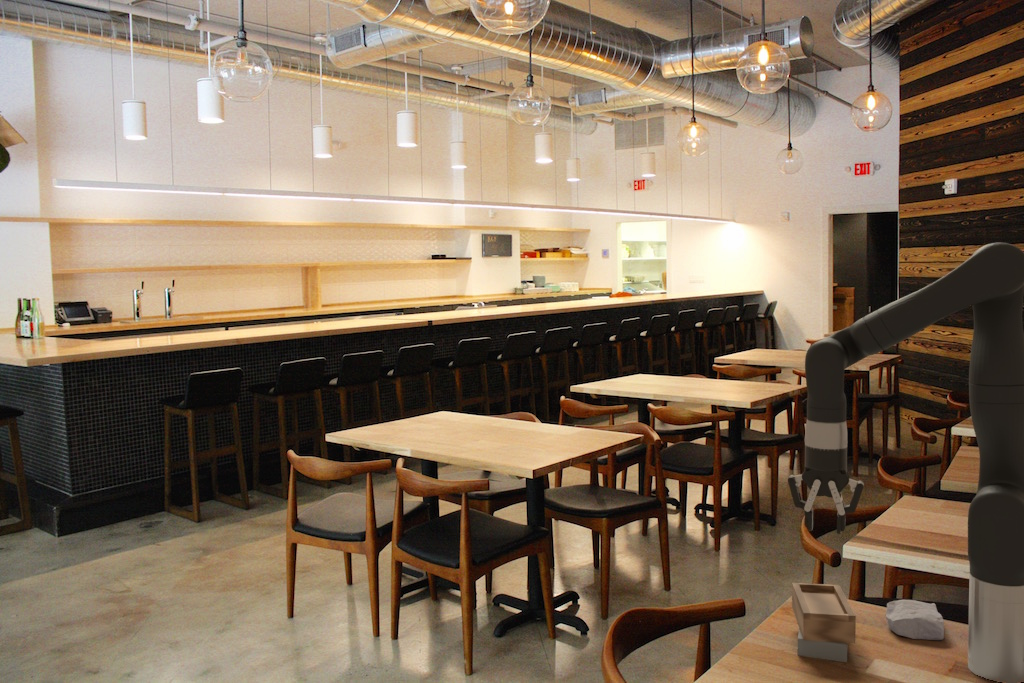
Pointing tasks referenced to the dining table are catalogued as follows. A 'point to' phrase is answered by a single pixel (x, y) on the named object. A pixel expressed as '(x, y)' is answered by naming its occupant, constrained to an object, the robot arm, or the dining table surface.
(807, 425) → the robot arm
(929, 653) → the dining table surface
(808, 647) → the base slab
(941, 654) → the dining table surface
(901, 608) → the stone block
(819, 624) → the tan open box
